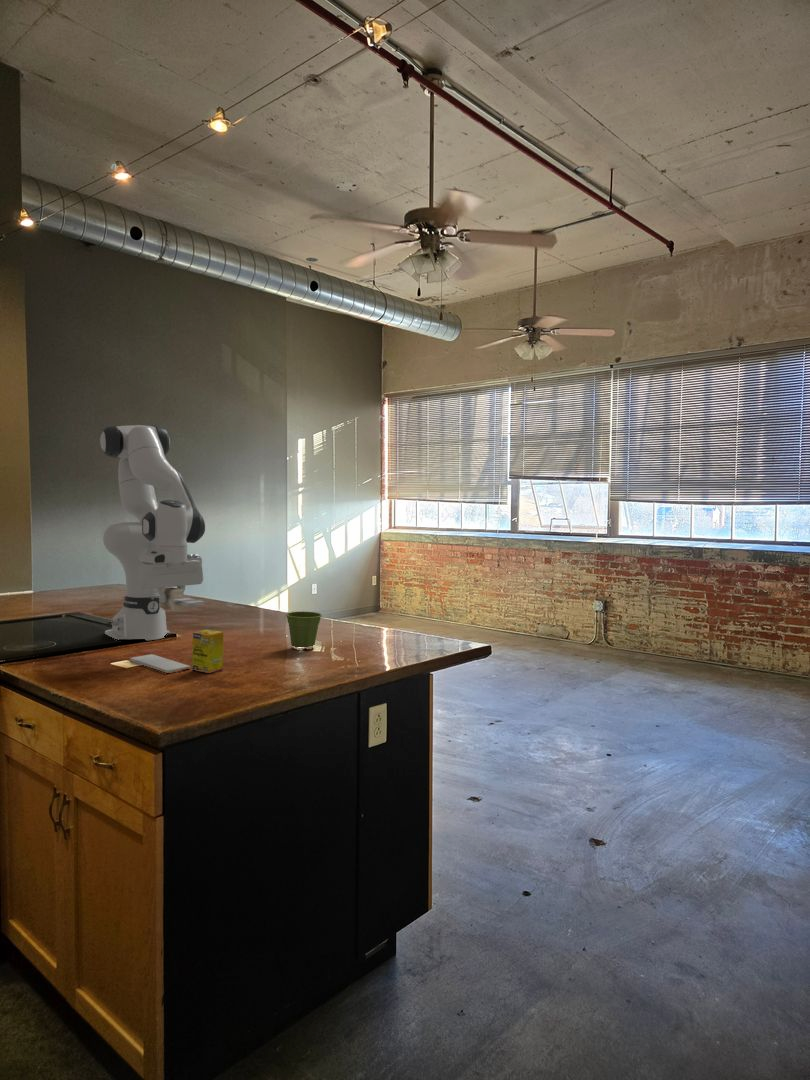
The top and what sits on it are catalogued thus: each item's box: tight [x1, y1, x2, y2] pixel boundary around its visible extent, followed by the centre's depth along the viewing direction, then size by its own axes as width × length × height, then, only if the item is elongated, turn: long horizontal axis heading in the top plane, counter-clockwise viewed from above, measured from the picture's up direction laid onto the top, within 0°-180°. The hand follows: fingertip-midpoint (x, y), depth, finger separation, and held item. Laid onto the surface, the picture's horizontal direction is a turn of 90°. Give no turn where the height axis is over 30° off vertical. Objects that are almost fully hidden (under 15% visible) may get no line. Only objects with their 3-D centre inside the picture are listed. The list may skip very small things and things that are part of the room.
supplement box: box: [192, 629, 225, 671], centre depth 192 cm, size 6×6×11 cm
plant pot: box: [284, 610, 323, 647], centre depth 223 cm, size 12×12×11 cm
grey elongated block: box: [159, 587, 205, 612], centre depth 202 cm, size 17×5×6 cm, turn 51°
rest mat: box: [129, 653, 191, 673], centre depth 196 cm, size 20×7×1 cm, turn 50°
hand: (171, 601), depth 205 cm, fingers closed on grey elongated block, 3 cm apart
